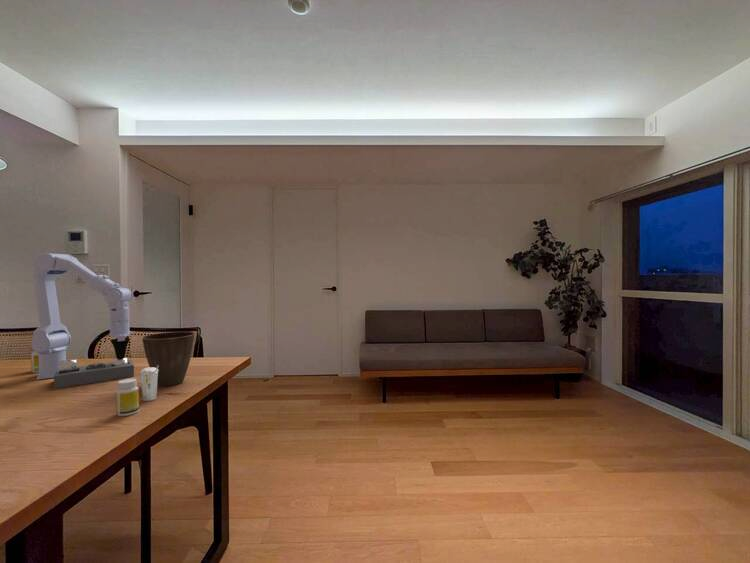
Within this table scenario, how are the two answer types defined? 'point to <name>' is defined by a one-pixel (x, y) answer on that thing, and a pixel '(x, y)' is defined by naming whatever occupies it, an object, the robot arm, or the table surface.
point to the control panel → (93, 374)
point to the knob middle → (95, 366)
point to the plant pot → (169, 355)
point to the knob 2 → (120, 361)
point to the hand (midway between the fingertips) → (120, 358)
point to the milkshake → (149, 383)
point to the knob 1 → (68, 365)
